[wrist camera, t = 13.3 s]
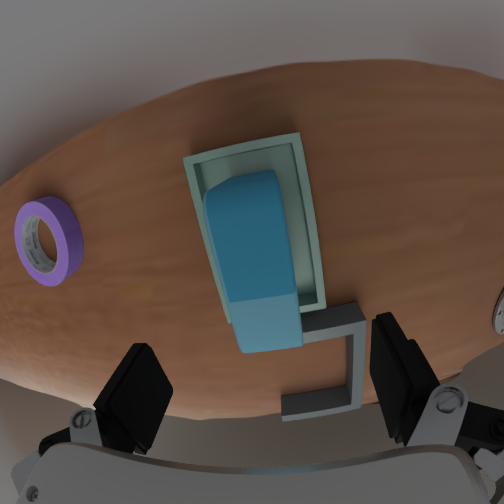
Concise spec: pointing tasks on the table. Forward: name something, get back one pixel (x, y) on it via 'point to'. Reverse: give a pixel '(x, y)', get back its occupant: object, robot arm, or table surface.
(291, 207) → the tray
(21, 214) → the masking tape
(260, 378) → the table surface
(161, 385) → the robot arm
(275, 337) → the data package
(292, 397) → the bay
